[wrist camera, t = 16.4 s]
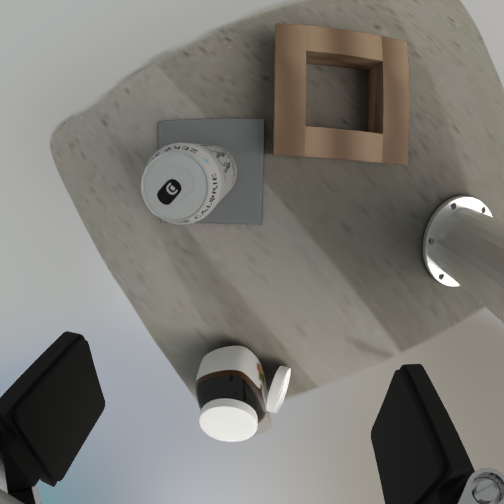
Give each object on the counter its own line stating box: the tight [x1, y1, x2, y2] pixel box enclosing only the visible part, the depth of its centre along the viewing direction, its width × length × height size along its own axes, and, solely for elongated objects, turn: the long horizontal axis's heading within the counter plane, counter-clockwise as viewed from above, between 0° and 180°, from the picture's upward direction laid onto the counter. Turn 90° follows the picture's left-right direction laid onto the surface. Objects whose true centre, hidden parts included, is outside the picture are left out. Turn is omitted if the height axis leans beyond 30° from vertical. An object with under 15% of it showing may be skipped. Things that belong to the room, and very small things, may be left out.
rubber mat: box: [158, 118, 264, 225], centre depth 35 cm, size 12×12×1 cm
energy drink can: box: [141, 143, 237, 225], centre depth 28 cm, size 6×6×15 cm
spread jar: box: [195, 345, 291, 442], centre depth 38 cm, size 12×11×12 cm
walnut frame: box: [273, 24, 409, 166], centre depth 30 cm, size 14×14×5 cm
